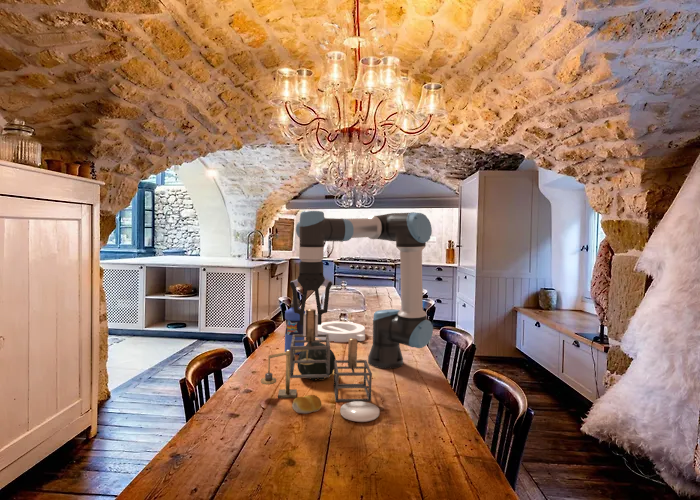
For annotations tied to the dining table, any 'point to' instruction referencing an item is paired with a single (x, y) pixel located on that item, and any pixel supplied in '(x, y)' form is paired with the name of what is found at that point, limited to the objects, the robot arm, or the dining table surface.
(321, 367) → the squash
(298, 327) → the water bottle
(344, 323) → the ring with crossbar
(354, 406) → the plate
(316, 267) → the robot arm
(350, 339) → the metal bar cube frame
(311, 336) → the wire frame cage
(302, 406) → the bread roll
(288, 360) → the balance
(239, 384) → the dining table surface
